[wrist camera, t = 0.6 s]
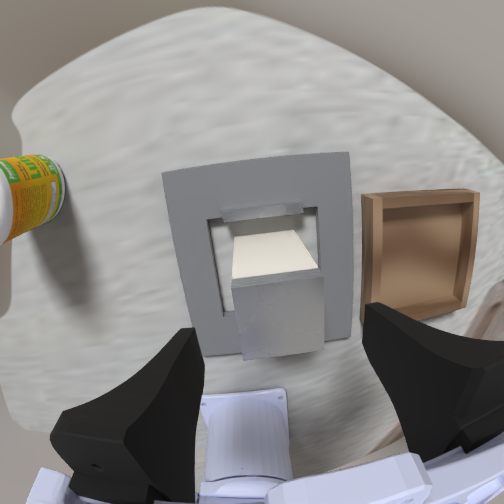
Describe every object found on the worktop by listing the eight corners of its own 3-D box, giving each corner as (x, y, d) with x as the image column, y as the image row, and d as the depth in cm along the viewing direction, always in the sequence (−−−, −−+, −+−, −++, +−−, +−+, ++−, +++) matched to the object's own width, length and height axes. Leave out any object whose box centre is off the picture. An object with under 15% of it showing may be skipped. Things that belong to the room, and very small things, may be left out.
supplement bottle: (74, 163, 18) (-21, 180, 9) (60, 231, 20) (-23, 280, 10) (25, 147, 17) (-65, 159, 8) (14, 210, 19) (-68, 246, 10)
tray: (454, 297, 23) (465, 307, 21) (359, 319, 23) (368, 332, 21) (464, 188, 20) (479, 192, 18) (361, 194, 20) (372, 198, 18)
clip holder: (347, 331, 23) (353, 341, 22) (201, 350, 23) (199, 361, 22) (344, 151, 19) (352, 152, 17) (164, 172, 19) (158, 173, 17)
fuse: (297, 283, 22) (324, 349, 14) (242, 290, 22) (243, 360, 14) (293, 229, 20) (323, 276, 13) (234, 236, 20) (231, 288, 13)
